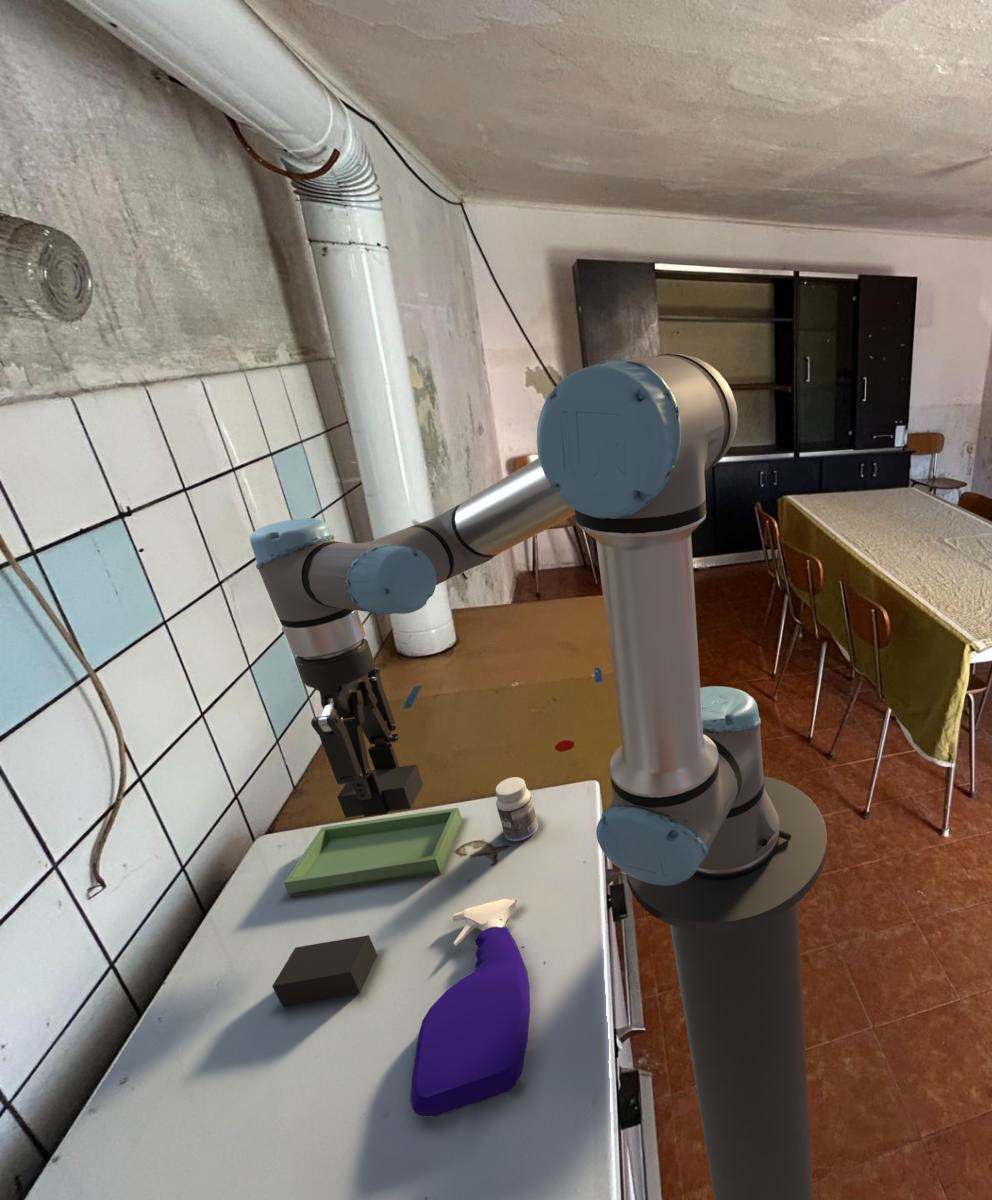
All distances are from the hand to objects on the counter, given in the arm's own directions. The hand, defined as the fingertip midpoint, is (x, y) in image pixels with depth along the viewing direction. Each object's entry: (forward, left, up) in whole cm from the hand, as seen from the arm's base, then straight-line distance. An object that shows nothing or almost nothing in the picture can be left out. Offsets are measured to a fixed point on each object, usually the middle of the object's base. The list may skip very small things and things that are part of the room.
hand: (385, 798), depth 89 cm
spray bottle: (-16, +24, -11) cm, 31 cm away
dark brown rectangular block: (+2, +18, -11) cm, 21 cm away
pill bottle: (-15, -3, -11) cm, 19 cm away
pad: (0, 0, 0) cm, 0 cm away
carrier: (+4, -2, -11) cm, 12 cm away
